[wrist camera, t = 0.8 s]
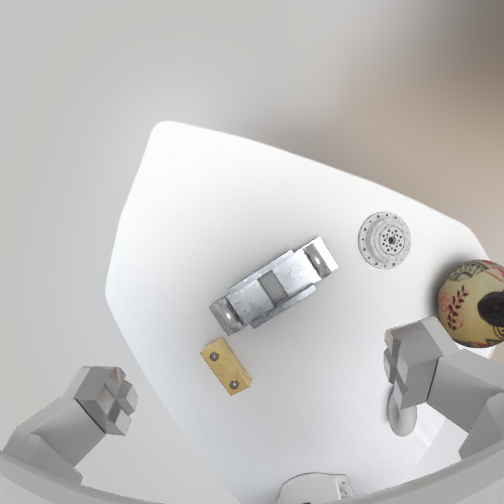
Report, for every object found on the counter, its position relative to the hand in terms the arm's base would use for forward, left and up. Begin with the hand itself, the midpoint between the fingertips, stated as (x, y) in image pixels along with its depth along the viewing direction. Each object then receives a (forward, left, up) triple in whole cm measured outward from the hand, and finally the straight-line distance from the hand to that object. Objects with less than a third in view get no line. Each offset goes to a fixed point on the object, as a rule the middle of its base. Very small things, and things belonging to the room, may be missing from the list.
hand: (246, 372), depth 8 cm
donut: (-37, -5, -44) cm, 57 cm away
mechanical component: (-7, -18, -44) cm, 48 cm away
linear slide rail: (-3, +3, -44) cm, 44 cm away
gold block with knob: (-11, +18, -44) cm, 49 cm away
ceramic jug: (-24, -26, -44) cm, 57 cm away
